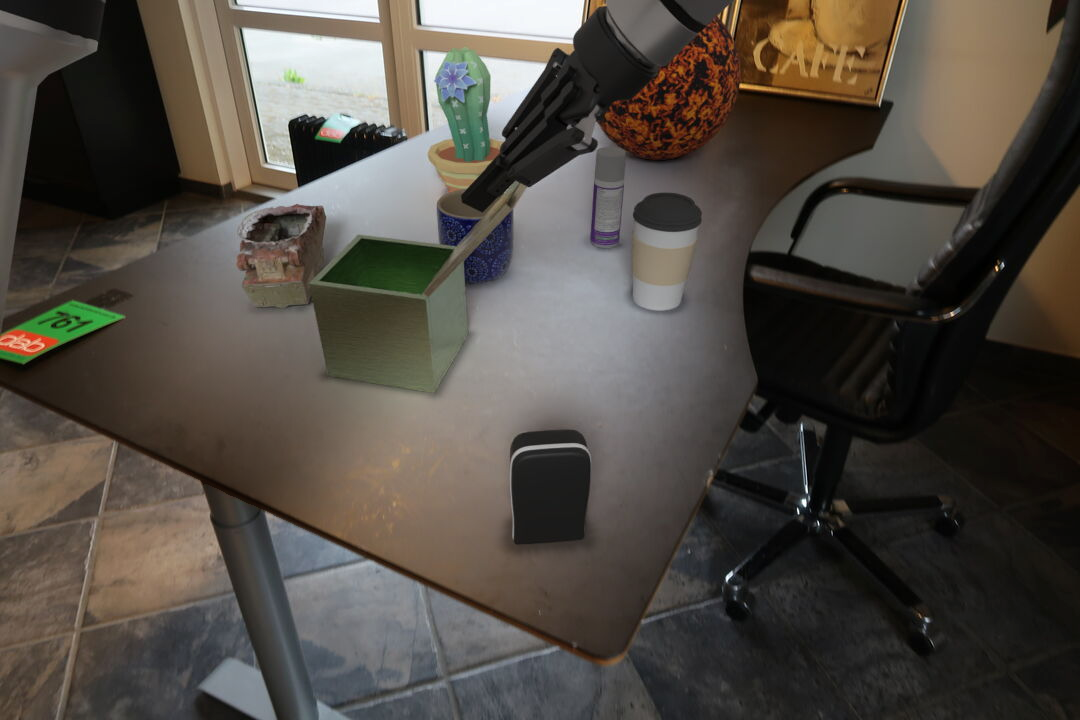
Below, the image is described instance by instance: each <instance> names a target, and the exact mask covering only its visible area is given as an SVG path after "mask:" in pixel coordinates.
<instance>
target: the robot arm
mask: <svg viewBox="0 0 1080 720" xmlns="http://www.w3.org/2000/svg"><path fill="white" fill-rule="evenodd" d="M106 1H107V0H0V338H2V337H1V336H2V328H3V322H4V316H5V309H6V302H7V295H8V289H9V281H10V275H11V268H12V261H13V254H14V249H15V248H14V247H15V241H16V235H17V227H18V221H19V215H20V208H21V201H22V194H23V187H24V180H25V173H26V166H27V160H28V153H29V146H30V140H31V134H32V133H31V132H32V125H33V118H34V113H35V106H36V100H37V92H38V87H39V85H40V84H41V83H42V82H43V81H44V80H45V79H46V78H47V77H48V76H49V75H50V74H52V73H55V72H57V71H59V70H61V69H63V68H65V67H67V66H69V65H71V64H73V63H75V62H77V61H79V60H81V59H83V58H85V57H87V56H89V55H92V54H93V53H95V52H97V51H98V45H99V42H100V36H101V31H102V24H103V18H104V12H105V7H106ZM734 1H735V0H605V5H602V6H598V7H597V8H596V9H595V10H594V12H592V14H590V16H589V17H588V18H587V19H586V20H585V21H584V22H583V23H582V25H581V26H580V27H579V28H578V29H577V30H576V32H575V33H574V35H573V38H572V47H573V51H572V52H571V53H567V52H565V51H564V50H563V49H561V48H560V47H556V48H555V49H554V50H553V51H552V53H551V55H550V56H549V59H548V61H547V62H546V65H545V67H544V70H543V71H542V72H541V74H540V75H539V76H538V78H537V80H536V81H535V82H534V84H533V85H532V87H531V88H530V89H529V91H528V93H527V94H526V95H525V97H524V98H523V100H522V101H521V103H520V104H519V106H518V107H517V109H516V110H515V111H514V113H513V115H512V116H511V117H510V119H509V120H508V121H507V123H506V124H505V126H504V127H503V129H502V131H501V137H503V138H504V141H503V142H504V143H503V144H502V145H501V147H500V153H499V154H498V155H497V156H496V157H495V158H494V160H493V161H492V162H491V163H490V164H489V165H488V166H487V167H486V169H485V170H484V171H483V172H482V173H481V174H480V175H479V177H478V178H477V179H476V180H475V181H474V182H473V183H472V184H471V185H470V186H469V187H468V188H467V189H466V190H465V192H464V193H463V194H462V195H461V200H462V203H464V204H466V205H468V206H470V207H472V208H474V209H476V210H478V211H480V212H482V213H483V212H484V211H485V210H486V209H487V208H488V207H489V206H490V205H491V204H492V203H493V202H494V201H495V200H496V199H497V198H498V197H500V196H501V195H502V194H503V193H504V194H505V193H506V191H507V190H508V189H509V188H510V187H511V186H512V185H513V184H514V183H515V182H516V181H517V182H519V183H521V184H523V185H525V186H527V188H532V187H533V186H534V185H535V184H538V183H539V182H541V181H542V180H543V179H545V178H548V176H549V175H552V174H553V173H554V172H556V171H557V170H559V169H561V168H562V167H563V166H565V165H566V164H568V163H570V162H571V161H573V160H574V159H575V158H577V157H578V156H581V155H586V154H591V153H593V152H595V151H596V149H598V145H599V141H598V139H596V138H594V137H593V134H594V130H595V126H596V123H598V121H600V120H601V119H602V118H603V117H604V116H605V114H606V112H607V110H608V109H609V107H610V106H611V105H612V104H613V103H614V102H615V101H620V100H631V99H633V98H634V97H635V96H636V95H637V94H638V93H639V92H640V91H641V90H642V89H643V88H644V87H645V86H646V85H647V84H648V83H649V82H651V81H652V80H653V79H654V78H655V77H656V76H657V74H658V70H659V66H666V65H667V64H668V63H669V62H670V61H671V60H672V59H673V58H674V57H675V56H676V55H677V54H678V53H679V52H680V51H681V50H682V49H683V48H684V47H685V46H686V45H688V44H689V43H690V42H691V41H692V40H693V39H694V38H695V37H696V36H697V35H698V34H699V33H700V32H702V31H703V30H704V29H705V28H706V27H707V26H708V25H709V23H710V22H711V21H712V20H713V19H714V18H716V17H717V16H718V17H719V15H720V14H721V13H722V12H723V11H724V10H725V9H727V8H728V7H729V5H731V4H732V3H733V2H734Z"/></svg>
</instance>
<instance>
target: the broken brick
mask: <svg viewBox="0 0 1080 720" xmlns="http://www.w3.org/2000/svg"><path fill="white" fill-rule="evenodd" d="M326 223H327V214H326V212H325V208H324V206H323V205H304V204H298V203H296V204H293V205H290V206H289V205H288V206H285V205H279V206H276V207H273V206H271V207H265V208H261V209H258V210H255V211H253V212H251V213H249V214H248V215H247V216H245V218H243V220H242V221H241V223H240V224H239V225H238V228H237V231H236V236H238V237H239V238H240V239H241V242H240V243H239V253H237V255H236V259H235V260H236V264H235V265H236V267H237V269H238V271H240V272H244V271H245V273H244V274H245V275H244V279H243V280H242V283H241V287H242V289H243V292H244V293H245V295H247V297H248V299H249V300H250V302H251V304H252V305H253V307H255V308H267V307H268V308H270V307H276V308H278V309H286V308H288V306H298V305H299V306H300V305H308V304H309V302H310V299H311V297H312V296H311V291H310V286H309V283H310V282H311V281H312V280H313V279H314V278H315V277H316V276H317V275H318V274H319V273H320V272H321V271H322V270H323V269H322V268H323V266H324V263H325V261H324V259H325V258H324V256H325V253H324V243H323V241H324V235H325V228H326Z"/></svg>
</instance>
